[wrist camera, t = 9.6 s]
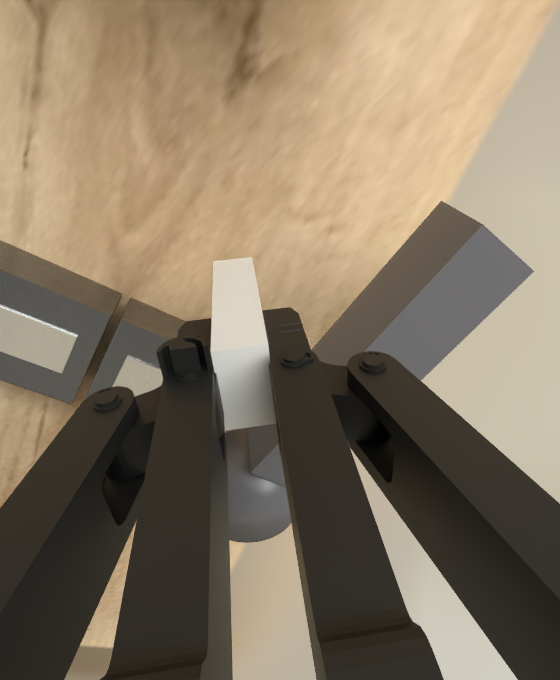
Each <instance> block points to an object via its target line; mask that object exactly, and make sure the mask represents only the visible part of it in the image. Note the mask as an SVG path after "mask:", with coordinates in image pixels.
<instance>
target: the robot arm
mask: <svg viewBox="0 0 560 680" xmlns="http://www.w3.org/2000/svg"><path fill="white" fill-rule="evenodd" d="M156 353H157V357H158V361H159V365H160V368H161V372H162V376H163V381H162V385H161V386H159V387H158V388H156V389H154V390H151V391H149V392H146V393H143V394H140V395H137V396H134V394H133V391H132V390H130V389H129V388H127V387H121V386H115V387H108V388H105V389H101V390H99V391H97V392H95V393H93V394H92V395H90V396H89V397H88V398H87V399H86V400H84V401H83V402H82V404H81V405H80V406H79V408H78V409H77V410H76V412H75V413H74V414H73V415H72V417H71V418H70V419H69V421H68V422H67V423H66V424H65V426H64V427H63V428H62V430H61V431H60V432H59V433H58V435H57V436H56V437H55V439H54V440H53V441H52V442H51V444H50V445H49V446H48V448H47V449H46V450H45V451H44V453H43V454H42V455H41V457H40V458H39V459H38V460H37V462H36V463H35V464H34V466H33V467H32V468H31V470H30V471H29V472H28V473H27V475H26V476H25V477H24V479H23V480H22V481H21V482H20V484H19V485H18V486H17V488H16V489H15V490H14V491H13V493H12V494H11V495H10V497H9V498H8V499H7V500H6V502H5V503H4V504H3V506H2V507H1V508H0V680H64V679H65V677H66V674H67V672H68V670H69V668H70V666H71V663H72V661H73V659H74V657H75V655H76V652H77V650H78V648H79V646H80V643H81V641H82V639H83V637H84V635H85V632H86V630H87V628H88V626H89V624H90V621H91V619H92V617H93V615H94V613H95V610H96V608H97V606H98V604H99V602H100V599H101V597H102V595H103V593H104V591H105V588H106V586H107V584H108V582H109V580H110V577H111V575H112V573H113V571H114V568H115V566H116V564H117V562H118V560H119V557H120V555H121V553H122V551H123V549H124V546H125V544H126V542H127V540H128V538H129V535H130V533H131V531H132V529H133V527H134V524H135V522H136V520H137V522H136V528H135V533H134V538H133V544H132V549H131V555H130V560H129V565H128V571H127V576H126V582H125V587H124V592H123V598H122V603H121V609H120V614H119V620H118V625H117V630H116V636H115V641H114V647H113V652H112V657H111V661H110V665H109V669H108V671H107V673H106V675H105V676H104V677H103V678H101V679H100V680H232V638H231V597H230V555H229V513H228V472H227V442H226V437H225V432H224V424H225V430H226V431H227V430H234V429H241V428H248V427H255V426H262V425H269V424H276V425H277V434H278V443H279V452H280V455H281V460H282V466H283V472H284V479H285V485H286V491H287V497H288V504H289V510H290V516H291V522H292V529H293V535H294V541H295V547H296V554H297V560H298V566H299V572H300V578H301V585H302V591H303V597H304V603H305V609H306V616H307V622H308V628H309V635H310V641H311V647H312V653H313V660H314V666H315V672H316V679H317V680H444V679H443V677H442V674H441V671H440V669H439V666H438V663H437V661H436V658H435V655H434V653H433V651H432V648H431V646H430V643H429V641H428V639H427V636H426V635H425V633H424V632H423V630H422V629H421V627H420V626H419V625H417V624H416V623H414V622H413V621H412V620H411V618H410V616H409V614H408V612H407V609H406V607H405V604H404V601H403V598H402V595H401V592H400V589H399V587H398V584H397V581H396V578H395V575H394V572H393V569H392V567H391V564H390V561H389V558H388V555H387V552H386V550H385V547H384V544H383V541H382V538H381V535H380V532H379V530H378V527H377V524H376V521H375V518H374V516H373V513H372V510H371V507H370V504H369V501H368V498H367V495H366V493H365V490H364V487H363V484H362V481H361V478H360V476H359V473H358V470H357V467H356V464H355V461H354V459H353V456H352V453H351V450H350V448H351V449H352V450H353V452H354V453H355V455H356V456H357V457H358V459H359V460H360V461H361V463H362V464H363V466H364V467H365V468H366V470H367V471H368V473H369V474H370V475H371V477H372V478H373V479H374V481H375V482H376V484H377V485H378V486H379V488H380V489H381V491H382V492H383V493H384V495H385V496H386V498H387V499H388V500H389V502H390V503H391V504H392V506H393V507H394V509H395V510H396V511H397V513H398V514H399V516H400V517H401V518H402V520H403V521H404V522H405V524H406V525H407V527H408V528H409V529H410V531H411V532H412V534H413V535H414V536H415V538H416V539H417V540H418V542H419V543H420V544H421V546H422V547H423V549H424V550H425V552H426V553H427V554H428V556H429V557H430V558H431V560H432V561H433V563H434V564H435V565H436V567H437V568H438V569H439V571H440V572H441V574H442V575H443V576H444V578H445V579H446V581H447V582H448V583H449V585H450V586H451V587H452V589H453V590H454V592H455V593H456V594H457V596H458V597H459V599H460V600H461V601H462V603H463V604H464V606H465V607H466V608H467V610H468V611H469V612H470V614H471V615H472V617H473V618H474V619H475V621H476V622H477V623H478V625H479V626H480V628H481V629H482V630H483V632H484V633H485V635H486V636H487V637H488V639H489V640H490V642H491V643H492V644H493V646H494V647H495V648H496V650H497V651H498V653H499V654H500V655H501V657H502V658H503V660H504V661H505V662H506V664H507V665H508V666H509V668H510V669H511V671H512V672H513V673H514V675H515V676H516V678H517V679H518V680H560V504H559V503H558V502H557V501H556V500H555V499H554V498H552V497H551V496H550V495H549V494H548V493H547V492H546V491H545V490H543V489H542V488H541V487H540V486H539V485H538V484H537V483H536V482H534V481H533V480H532V479H531V478H530V477H529V476H528V475H526V474H525V473H524V472H523V471H522V470H521V469H520V468H519V467H517V466H516V465H515V464H514V463H513V462H512V461H511V460H509V459H508V458H507V457H506V456H505V455H504V454H503V453H502V452H500V451H499V450H498V449H497V448H496V447H495V446H494V445H493V444H491V443H490V442H489V441H488V440H487V439H486V438H484V437H483V436H482V435H481V434H480V433H479V432H478V431H477V430H476V429H474V428H473V427H472V426H471V425H470V424H469V423H468V422H466V421H465V420H464V419H463V418H462V417H461V416H460V415H459V414H457V413H456V412H455V411H454V410H453V409H452V408H450V406H448V405H447V404H446V403H445V402H444V401H443V400H442V399H440V398H439V397H438V396H437V395H436V394H435V393H434V392H433V391H431V390H430V389H429V388H428V387H427V386H426V385H425V384H423V383H422V382H421V381H420V380H419V379H418V378H417V377H416V376H414V375H413V374H412V373H411V372H410V371H409V370H408V369H406V368H405V367H404V366H403V365H402V364H401V363H400V362H399V361H397V360H396V359H395V358H394V357H392V356H390V355H389V354H386V353H382V352H377V351H367V352H361V353H358V354H356V355H354V356H352V357H351V358H350V359H349V360H348V365H347V366H340V365H331V364H327V363H324V362H321V361H319V359H318V357H317V355H316V354H315V353H314V352H313V351H311V349H310V346H309V343H308V340H307V338H306V335H305V332H304V330H303V326H302V323H301V320H300V317H299V314H298V313H297V312H296V311H294V310H293V309H292V308H290V307H289V308H281V309H273V310H265V311H262V308H261V302H260V297H259V292H258V286H257V281H256V275H255V270H254V265H253V259H252V257H246V258H238V259H229V260H221V261H213V291H212V318H210V319H202V320H194V321H186V322H185V323H184V324H183V325H182V326H181V327H180V329H179V330H178V335H177V337H176V338H173V339H171V340H168V341H166V342H165V343H163V344H162V345H161V346H159V348H158V350H157V351H156ZM349 446H350V447H349Z"/></svg>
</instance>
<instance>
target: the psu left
mask: <svg viewBox="0 0 560 680" xmlns="http://www.w3.org/2000/svg"><path fill="white" fill-rule="evenodd" d="M120 297H121V293H119V292H117V291H114V290H112V289H110V288H108V287H105V286H103V285H101V284H98V283H96V282H94V281H92V280H89V279H87V278H85V277H82V276H80V275H78V274H76V273H73V272H71V271H69V270H66V269H64V268H62V267H60V266H57V265H55V264H53V263H51V262H48V261H46V260H44V259H41V258H39V257H37V256H35V255H32V254H30V253H28V252H25V251H23V250H21V249H19V248H16V247H14V246H12V245H9V244H7V243H5V242H3V241H0V380H2V381H4V382H7V383H10V384H13V385H16V386H19V387H22V388H25V389H28V390H31V391H34V392H37V393H40V394H43V395H46V396H49V397H52V398H55V399H58V400H61V401H63V402H66V403H69V404H72V402H73V400H74V398H75V396H76V393H77V391H78V389H79V387H80V385H81V383H82V381H83V379H84V377H85V375H86V373H87V371H88V368H89V366H90V364H91V362H92V359H93V357H94V355H95V353H96V350H97V348H98V346H99V344H100V341H101V339H102V337H103V335H104V332H105V330H106V328H107V326H108V323H109V321H110V319H111V317H112V315H113V312H114V310H115V308H116V306H117V303H118V301H119V299H120Z"/></svg>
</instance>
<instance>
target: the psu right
mask: <svg viewBox="0 0 560 680" xmlns="http://www.w3.org/2000/svg"><path fill="white" fill-rule="evenodd" d="M184 323H185V321H183V320H181V319H178V318H176V317H174V316H171V315H169V314H167V313H165V312H162V311H160V310H158V309H155V308H153V307H151V306H149V305H146V304H144V303H142V302H140V301H137V300H135V299H133V298H131V299H130V301H129V303H128V305H127V307H126V310H125V312H124V314H123V316H122V318H121V321H120V323H119V325H118V327H117V329H116V331H115V334H114V336H113V338H112V340H111V342H110V345H109V347H108V349H107V351H106V353H105V355H104V358H103V360H102V362H101V364H100V366H99V369H98V371H97V373H96V375H95V377H94V379H93V382H92V384H91V386H90V388H89V390H88V393H87V395H86V397H85V399H84V400H86V399H87V398H88V397H89V396H90V395H92V394H93V393H95V392H97V391H99V390H101V389H105V388H108V387H115V386H121V387H127V388H129V389H130V390H132V391H133V394H134V396H137V395H140V394H143V393H146V392H149V391H151V390H154V389H156V388H158V387H159V386H161V385H162V381H163V376H162V372H161V368H160V365H159V361H158V357H157V353H156V351H157V350H158V348H159V346H161V345H162V344H163V343H165V342H166V341H168V340H171V339H173V338H176V337H177V335H178V330H179V329H180V327H181V326H182V325H183V324H184Z"/></svg>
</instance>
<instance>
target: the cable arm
mask: <svg viewBox="0 0 560 680" xmlns="http://www.w3.org/2000/svg"><path fill="white" fill-rule="evenodd" d="M533 272H534V271H533V270H532V269H531V268H530V267H529V266H528V265H527V264H526V263H524V262H523V261H522V260H521V259H520V258H519V257H518V256H517V255H515V253H513V252H512V251H511V250H510V249H509V248H508V247H507V246H506V245H505V244H504V243H502V242H501V241H500V240H499V239H498V238H497V237H496V236H495V235H494V234H493V233H491V232H490V231H489V230H488V229H487V228H486V227H485V226H484V225H483V224H481V223H479V222H477V221H476V220H474V219H472V218H470V217H469V216H467V215H465V214H463V213H462V212H460V211H458V210H456V209H455V208H453V207H451V206H449V205H448V204H446V203H444V202H442V201H441V202H440V203H439V204H438V205H437V206H436V208H435V209H434V210H433V211H432V212H431V213H430V215H429V216H428V217H427V218H426V219H425V220H424V221H423V223H422V224H421V225H420V226H419V227H418V228H417V229H416V231H415V232H414V233H413V234H412V235H411V236H410V237H409V239H408V240H407V241H406V242H405V243H404V244H403V246H402V247H401V248H400V249H399V250H398V251H397V252H396V254H395V255H394V256H393V257H392V258H391V259H390V260H389V262H388V263H387V264H386V265H385V266H384V267H383V268H382V270H381V271H380V272H379V273H378V274H377V275H376V276H375V278H374V279H373V280H372V281H371V282H370V283H369V285H368V286H367V287H366V288H365V289H364V290H363V291H362V293H361V294H360V295H359V296H358V297H357V298H356V299H355V301H354V302H353V303H352V304H351V305H350V306H349V307H348V309H347V310H346V311H345V312H344V313H343V314H342V316H341V317H340V318H339V319H338V320H337V321H336V322H335V324H334V325H333V326H332V327H331V328H330V329H329V330H328V332H327V333H326V334H325V335H324V336H323V337H322V338H321V340H320V341H319V342H318V343H317V344H316V345H315V347H314V348H313V349H312V350H311V351H313V352H314V353H315V354H316V355H317V357H318V359H319V361H321V362H324V363H327V364H331V365H340V366H347V365H348V360H349V359H350V358H351V357H352V356H354V355H356V354H358V353H361V352H367V351H377V352H382V353H386V354H389V355H390V356H392V357H394V358H395V359H396V360H397V361H399V362H400V363H401V364H402V365H403V366H404V367H405V368H406V369H408V370H409V371H410V372H411V373H412V374H413V375H414V376H416V377H417V378H418V379H419V380H420V381H421V380H422V379H423V378H424V377H425V376H426V375H427V374H428V373H429V372H430V371H431V370H432V369H433V368H434V367H435V366H436V365H437V364H439V362H440V361H442V360H443V359H444V358H445V357H446V356H447V355H448V354H449V353H450V352H451V351H452V350H453V349H454V348H455V347H456V346H457V345H458V344H459V343H460V342H461V341H462V340H463V339H464V338H465V337H466V336H468V335H469V334H470V333H471V332H472V331H473V330H474V329H475V328H476V327H477V326H478V325H479V324H480V323H481V322H482V321H483V320H484V319H485V318H486V317H487V316H488V315H489V314H490V313H491V312H492V311H493V310H494V309H495V308H497V307H498V306H499V305H500V304H501V303H502V302H503V301H504V300H505V299H506V298H507V297H508V296H509V295H510V294H511V293H512V292H513V291H514V290H515V289H516V288H517V287H518V286H519V285H520V284H521V283H522V282H523V281H524V280H526V279H527V278H528V276H530V274H532V273H533ZM225 437H226V442H227V472H228V513H229V540H231V541H236V542H258V541H263V540H266V539H269V538H272V537H274V536H276V535H278V534H279V533H281V532H283V531H284V530H285V529H286V528H287V527H288V526H289V525H290V523H291V516H290V510H289V504H288V497H287V491H286V485H285V479H284V472H283V466H282V460H281V455H280V452H279V443H278V434H277V425H276V424H269V425H262V426H255V427H248V428H241V429H234V430H231V431H229V432H227V433H225ZM349 447H350V446H349Z"/></svg>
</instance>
